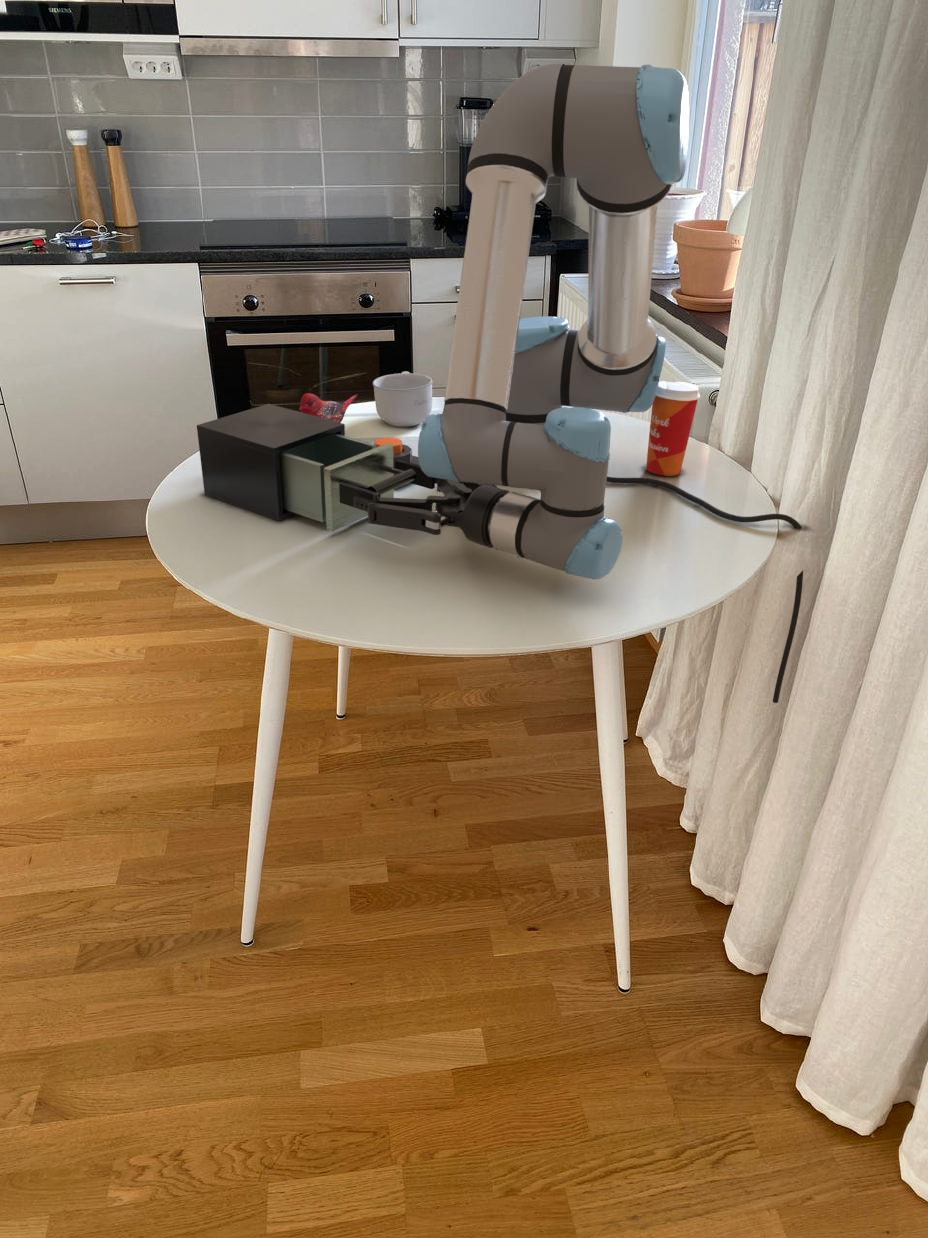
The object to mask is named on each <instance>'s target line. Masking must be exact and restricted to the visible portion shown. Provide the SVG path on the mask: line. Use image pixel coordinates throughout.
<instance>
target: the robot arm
mask: <svg viewBox="0 0 928 1238" xmlns="http://www.w3.org/2000/svg"><path fill="white" fill-rule="evenodd" d="M689 100H690V99H689V90H688V84H687V80H686V78H685V76H684V75H683V74H682V73H681V71H679V70H678V69H676V68H670V67H662V66H661V67H659V66H653V65H651V64H642V65H641V66H615V65H614V66H613V65H611V66H610V65H609V66H608V65H588V64H587V65H584V64H583V65H582V64H565V63H549V64H544V65H541V66H539V67H536V68H534V69H533V68H532V69H531V70H530V71H528V72H526V73H524V74H523V75H521V76H519V77H518V78H516V79H515V80H514V81H513V82H511V84H509V85H508V87H507V88H506V89H505V90H504V91H503V92H502V93H501V94H500V96H498V98H497V99H496V101H495V102H494V103H493V104H492V106H491V107H490V109H489V110H488V111H487V113H486V115H485V117H484V118H483V121H482V122H481V124H480V125H479V128H478V130H477V133H476V135H475V138H474V140H473V143H472V145H471V149H470V152H469V156H468V160H467V161H468V162H467V168H466V176H465V186H466V188H467V189H468V190H469V192H470V193H471V203H470V210H469V218H468V223H467V230H466V238H465V246H464V254H463V261H462V268H461V275H460V281H459V282H460V284H459V289H458V295H457V296H458V298H457V304H456V313H455V319H454V326H453V335H452V342H451V348H450V355H449V363H448V371H447V378H446V385H445V393H444V399H443V402H444V404H443V409H442V413H437V414H435V413H434V414H433V413H432V414H429V416H427V417H426V418H425V419H424V421H423V422H422V423H421V430H420V432H419V434H418V444H417V457H418V459H419V464H420V465H417V464H414V463H410V462H407V461H403V460H400V459H398V460H396V461H395V469H399V470H402V471H407V470H409V469H413V470H414V471H415V472H416V479H415V480H413V481H411V482H408V483H411V484H412V485H415V486H419V487H422V488H425V489H429V490H433V489H435V488H436V493H442V494H443V495H428V496H427V497H426V498H407V497H406V498H404V497H394V498H383V497H380V494H379V493H378V492H373V491H370V490H367V489H363V488H360V487H357V486H354V485H350V484H347V483H344V482H342V483H340V484H339V495H340V503H342V504H345V505H348V506H351V507H354V508H357V509H360V510H363V511H366V512H368V515H367V521H368V524H370V525H375V526H385V527H391V528H399V529H404V530H410V531H411V530H412V531H418V532H419V531H420V532H424V533H428V534H430V535H433V536H439V535H441V533H442V531H441V529H442V528H443V527H445V526H446V527H452V528H459V529H460V530H461V531H462V533H463V535H464V537H465V538H466V539H467V540H468V541H470V542H471V543H474V544H478V545H481V546H483V547H487V548H491V549H495V550H497V551H500V552H503V553H507V554H510V555H513V556H516V559H526V560H527V561H531V562H535V563H537V564H540V565H543V566H546V567H549V568H552V569H554V570H557V571H561V572H564V574H567V575H573V576H577V577H581V578H585V579H590V580H600V579H602V578H604V577H605V576H606V575H608V574H609V573H610V572H611V571H612V570H613V568H614V567H615V565H616V563H617V561H618V559H619V556H620V554H621V550H622V545H623V534H622V528H621V525H620V524H619V523H618V522H617V521H615V520H613V519H611V518H610V517H609V516H605V495H606V489H607V483H614V484H647V485H648V484H649V485H653V486H658V487H661V488H664V489H667V490H670V491H672V492H674V493H676V494H678V495H679V496H681V497H683V498H684V499H687V500H688V501H690V502H692V503H695V504H697V505H698V506H701V507H702V508H704V509H705V510H707V511H708V512H710V513H712V514H714V515H716V516H717V517H719V518H722V519H726V520H728V521H732V522H737V523H746V524H747V523H748V524H749V523H758V522H764V521H772V520H773V521H774V520H775V521H776V520H779V521H784V522H787V523H788V524H790V525H791V526H792V527H793V528H794V529H798V530H802V529H803V526H802V525H801V524H800V522H799V521H797V520H796V519H795V518H793V517H792V516H790V515H787V514H784V513H768V514H767V513H766V514H760V515H753V516H741V515H736V514H732V513H728V512H727V511H723V510H721V509H719V508H717V507H715V506H713V505H712V504H710V503H708V502H707V501H705V500H704V499H701V498H700V497H697V496H695V495H693V494H691V493H689V492H687V491H686V490H683V489H682V488H680V487H678V486H676V485H675V484H672V483H670V482H668V481H667V482H666V481H664V480H660V479H655V478H649V477H615V476H608V470H609V462H610V459H611V452H610V449H611V434H612V433H611V432H612V431H611V430H612V427H611V421H610V419H609V418H608V417H607V416H606V415H605V414H604V413H603V412H601V411H608V412H617V413H623V414H626V413H645V412H647V411H648V410H650V409H651V408H652V404H653V401H654V398H655V395H656V392H657V388H658V384H659V382H660V378H661V375H662V371H663V366H664V360H665V355H666V350H667V349H666V347H667V342H666V339H665V338H664V337H662V336H660V335H658V334H657V330H656V328H655V326H654V324H653V322H652V321H651V320H650V319H649V314H650V313H649V312H650V300H651V288H652V276H653V275H652V274H653V265H654V252H655V242H656V241H655V240H656V229H657V218H658V217H657V214H658V206H659V204H660V203H661V202H663V200H664V199H666V198H667V196H668V194H669V192H670V191H671V188H672V185H674V184H675V183H680V182H681V181H682V180H683V179H684V176H685V173H686V169H687V163H688V162H687V161H688V152H689V127H690V105H689V103H690V101H689ZM551 177H555V178H567V179H576V190H577V193H578V195H579V197H580V198H581V200H582V201H583V202H584V203H585V204H586V205H587V206H588V272H587V273H588V278H587V279H588V280H587V281H588V282H587V283H588V286H587V287H588V288H587V289H588V294H587V295H588V296H587V298H588V299H587V308H588V309H587V313H588V314H587V319H586V320H585V321H584V323H582V326H581V327H580V329H579V330H577V329H570V324H569V321H568V319H566V318H565V317H557V316H551V315H550V316H548V315H547V316H532V317H525V318H524V317H523V318H521V314H522V313H521V312H522V306H523V298H524V291H525V284H526V277H527V270H528V262H529V255H530V248H531V241H532V234H533V226H534V221H535V220H534V219H535V211H536V204H537V203H538V202H540V201H542V200H543V199H544V197H545V196H546V195H547V188H548V181H549V178H551ZM396 475H397V474H396ZM498 486H499V487H498ZM500 486H501V487H507V488H508V487H509V488H515V489H523V490H531V491H532V490H533V491H539V492H540V498H537V497H533V496H530V495H526V494H523V493H519V492H515V491H509V490H508V489H503V488H500ZM433 504H435V510H433V508H434V507H433V506H434V505H433ZM803 581H804V570H802V571H800V573H798V575H797V576H796V581H795V582H796V584H795V592H794V593H795V594H794V602H793V608H792V615H791V619H790V624H789V628H788V633H787V638H786V641H785V645H784V649H783V654H782V657H781V661H780V665H779V669H778V673H777V678H776V683H775V687H774V690H773V691H774V692H773V696H772V703H774V704H778V703H779V700H780V694H781V689H782V684H783V680H784V676H785V672H786V668H787V664H788V661H789V656H790V653H791V648H792V644H793V641H794V637H795V632H796V628H797V623H798V618H799V614H800V607H801V601H802V594H803Z"/></svg>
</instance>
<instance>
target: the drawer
mask: <svg viewBox="0 0 928 1238" xmlns="http://www.w3.org/2000/svg"><path fill="white" fill-rule="evenodd" d="M279 461H280V475H281V489H282V503H283V509H285V510H288V511H290V512H293V513H296V515H299V516H302V517H304V518H308V519H311V520H314V521H317V522H320V523H326V530H327V531H330V532H335V531H337V530H339V529H341V528H344V527H346V526H348V525H350V524H352V523H354V522H356V521H358V520H361V519H363V518H365V517H368V512H366V511H363V510H360V509H357V508H354V507H351V506H348V505H345V504H342V503H340V495H339V484H340V483H342V482H344V483H347V484H350V485H354V486H357V487H360V488H363V489H367V490H370V491H373V492H378V493H379V494H380V497H383V498H395V493H394V492H395V490H396V489H395V488H397V487H399V486H402V485H404V484H406V483H408V482H411V481H413V480H415V479H416V472H415V471H414V470H413V469H409V470H407V471H402V470H399V469H395V468H393V445H390V444H384V445H382V446H379V447H377V448H376V444H374V443H372V442H369V441H365V440H361V439H358V438H355V437H350V436H347V435H345V436H343V435H340V434H336V433H334V434H331V435H328V436H325V437H323V438H320V439H317V440H314V441H311V442H308V443H305V444H303V445H300V446H297V447H294V448H291V449H288V450H286V451H283V452H280V453H279ZM393 474H397V475H395V476H393Z"/></svg>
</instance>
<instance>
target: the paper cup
mask: <svg viewBox="0 0 928 1238" xmlns="http://www.w3.org/2000/svg"><path fill="white" fill-rule="evenodd" d="M700 399H701V394H700V389H699V386H697V385H695V384H692V383H689V382H684V381H676V380H675V381H674V380H668V381H666V380H661V381H660V380H659V384H658V388H657V392H656V395H655V398H654V401H653V404H652V406H651V414H650V422H649V423H650V424H649V435H648V442H647V443H648V444H647V453H646V454H647V456H646V470H647V471H648V472H649V473H652V474H655V475H659V476H666V477H672V476H673V477H674V476H677V475H680V474H681V470H682V468H683V463H684V459H685V455H686V452H687V446H688V443H689V438H690V434H691V430H692V426H693V422H694V417H695V413H696V409H697V406H698V405H697V404H698V400H700Z"/></svg>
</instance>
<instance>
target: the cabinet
mask: <svg viewBox="0 0 928 1238" xmlns="http://www.w3.org/2000/svg"><path fill="white" fill-rule="evenodd" d="M196 431H197V440H198V450H199V456H200V459H199V460H200V467H201V475H202V483H203V492H204V496H207V497H209V498H212V499H214V500H218V501H221V502H223V503H226V504H229V505H231V506H234V507H237V508H240V509H243V510H246V511H248V512H251V513H254V514H257V515H259V516H263V517H266V518H269V519H271V520H274V521H277V522H282V521H284V520H286V519H288V518H291V517H294V516H295V515H297V514H296V513H293V512H290V511H288V510H285V509H283V503H282V489H281V475H280V461H279V453H280V452H283V451H286V450H288V449H291V448H294V447H297V446H300V445H303V444H305V443H308V442H311V441H314V440H317V439H320V438H323V437H325V436H328V435H331V434H334V433H336V434H340V435H343V436H346V425H345V423H342V422H341V423H339V422H335V421H331V420H328V419H324V418H320V417H316V416H313V415H309V414H305V413H302V412H301V411H298V410H293V409H290V408H286V407H282V406H278V405H275V404H271V403H267V404H264V405H260V406H257V407H254V408H250V409H247V410H242V411H239V412H237V413H233V414H230V415H226V416H223V417H220V418H216V419H213V420H210V421H206V422H202V423H199V424H197V425H196Z"/></svg>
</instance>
